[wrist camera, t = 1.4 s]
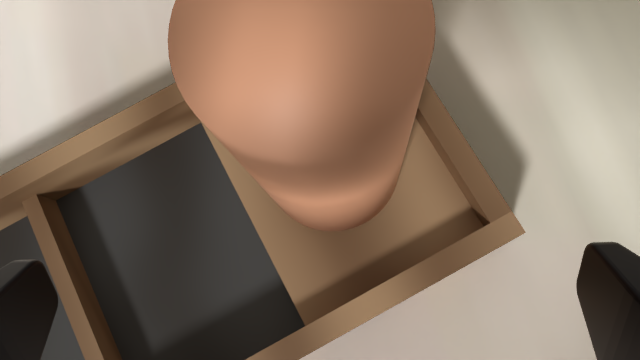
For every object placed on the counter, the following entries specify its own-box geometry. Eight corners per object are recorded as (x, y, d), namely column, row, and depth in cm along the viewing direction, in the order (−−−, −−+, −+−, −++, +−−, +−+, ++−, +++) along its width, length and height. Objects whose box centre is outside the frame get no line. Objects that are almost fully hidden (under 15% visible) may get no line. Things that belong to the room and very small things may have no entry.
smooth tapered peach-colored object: (425, 182, 19) (492, 57, 9) (313, 258, 19) (256, 213, 9) (349, 78, 20) (335, -133, 10) (242, 149, 20) (122, 2, 10)
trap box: (363, 16, 22) (364, -19, 20) (505, 240, 20) (525, 232, 17) (-290, 367, 21) (-375, 376, 19) (-226, 649, 19) (-315, 702, 16)
